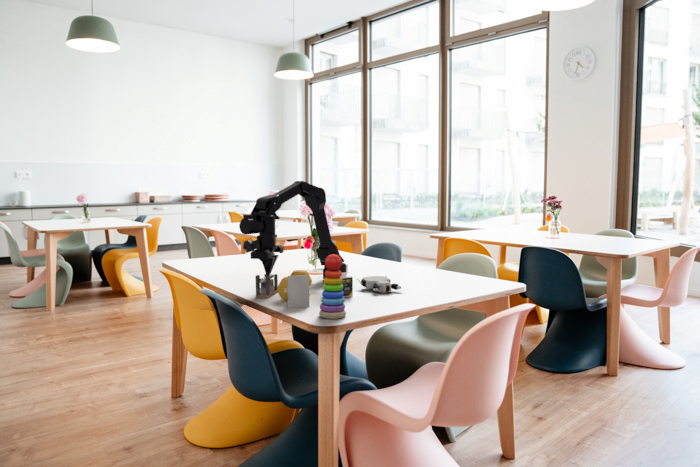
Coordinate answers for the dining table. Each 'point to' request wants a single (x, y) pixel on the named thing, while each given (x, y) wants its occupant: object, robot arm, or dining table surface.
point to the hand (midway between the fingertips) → (268, 275)
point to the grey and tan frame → (266, 287)
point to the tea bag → (298, 291)
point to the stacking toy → (332, 290)
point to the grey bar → (265, 279)
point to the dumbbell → (283, 284)
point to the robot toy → (378, 284)
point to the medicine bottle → (346, 281)
